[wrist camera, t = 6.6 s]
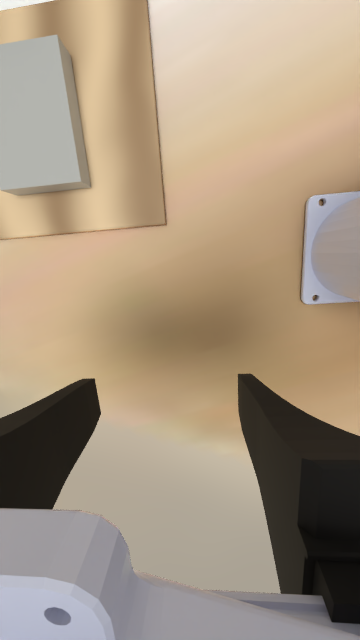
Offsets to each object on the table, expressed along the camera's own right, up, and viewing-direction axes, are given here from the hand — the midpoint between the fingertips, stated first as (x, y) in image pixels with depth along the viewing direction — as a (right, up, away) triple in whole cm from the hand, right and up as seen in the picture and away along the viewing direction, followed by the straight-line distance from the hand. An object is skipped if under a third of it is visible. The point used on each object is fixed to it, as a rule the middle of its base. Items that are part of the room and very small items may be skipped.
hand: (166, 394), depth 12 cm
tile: (-6, +17, +4) cm, 19 cm away
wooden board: (-8, +18, +6) cm, 20 cm away
